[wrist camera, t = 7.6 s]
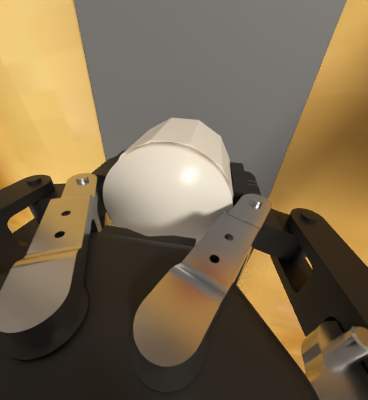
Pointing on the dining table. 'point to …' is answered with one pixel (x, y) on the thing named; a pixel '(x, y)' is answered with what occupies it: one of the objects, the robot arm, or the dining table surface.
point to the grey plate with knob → (207, 70)
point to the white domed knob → (171, 181)
